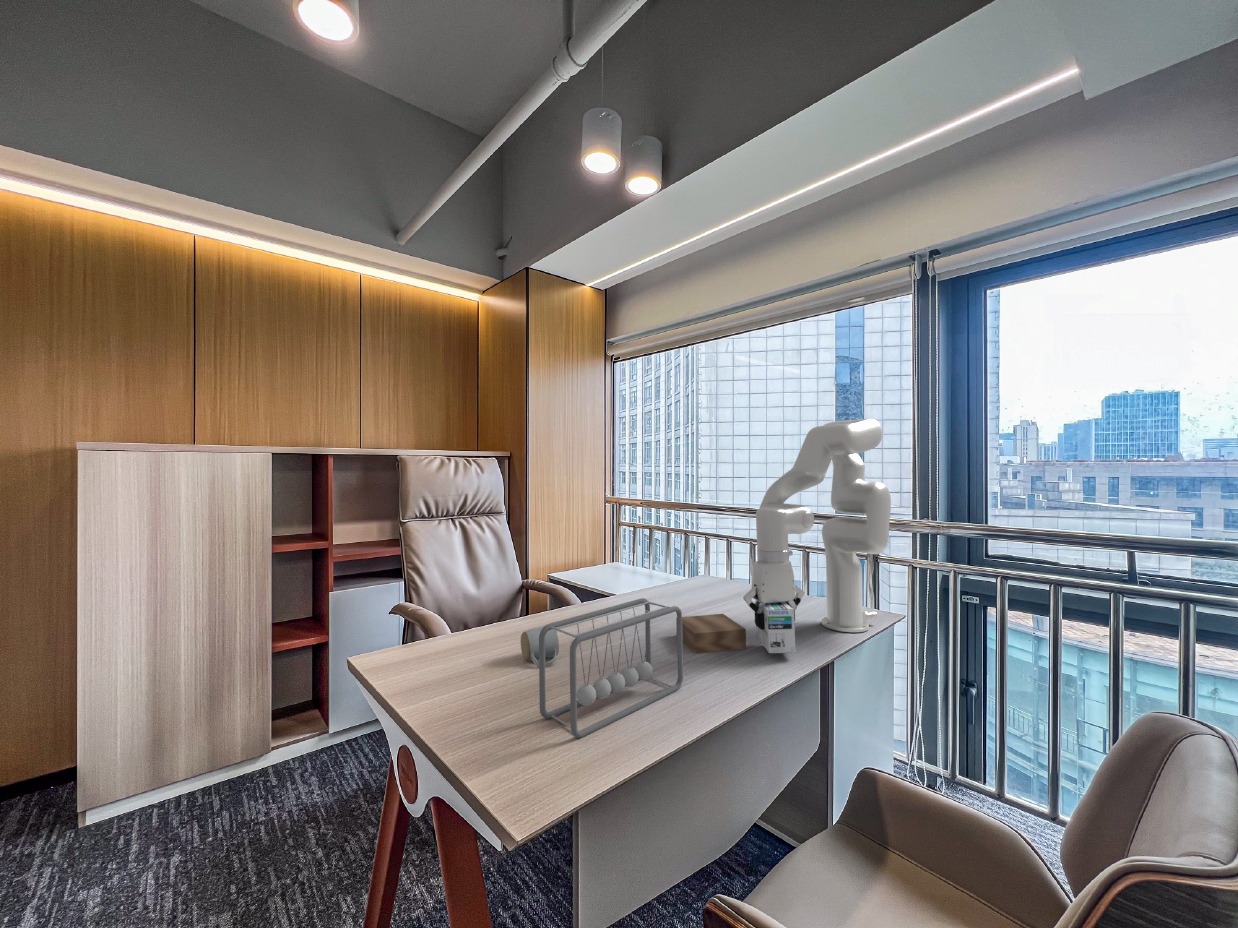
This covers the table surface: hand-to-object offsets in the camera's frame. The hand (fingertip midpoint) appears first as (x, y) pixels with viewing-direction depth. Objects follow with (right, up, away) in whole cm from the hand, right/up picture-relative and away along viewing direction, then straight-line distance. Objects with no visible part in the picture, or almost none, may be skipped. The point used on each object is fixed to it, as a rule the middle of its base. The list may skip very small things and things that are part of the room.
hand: (775, 625), depth 125 cm
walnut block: (-15, -7, +8) cm, 19 cm away
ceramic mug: (-58, -8, -2) cm, 59 cm away
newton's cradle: (-40, -7, -26) cm, 48 cm away
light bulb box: (0, -5, 0) cm, 5 cm away
